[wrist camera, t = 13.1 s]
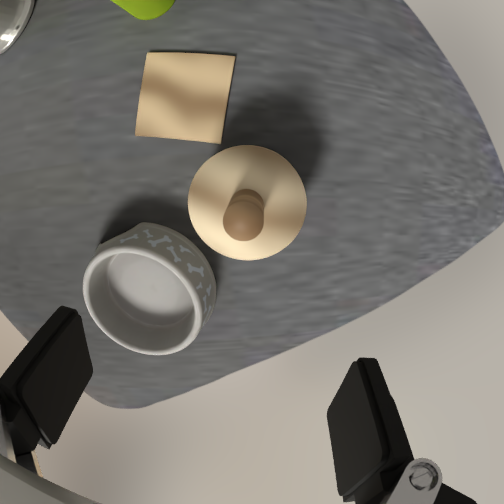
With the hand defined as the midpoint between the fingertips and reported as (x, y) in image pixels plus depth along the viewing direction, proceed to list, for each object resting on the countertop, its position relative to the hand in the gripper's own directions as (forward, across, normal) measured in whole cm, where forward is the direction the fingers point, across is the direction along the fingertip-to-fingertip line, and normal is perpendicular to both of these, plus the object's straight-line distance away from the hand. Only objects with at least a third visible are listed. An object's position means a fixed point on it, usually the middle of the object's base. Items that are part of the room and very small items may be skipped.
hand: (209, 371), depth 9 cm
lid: (+22, 0, 0) cm, 22 cm away
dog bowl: (+27, +11, +14) cm, 32 cm away
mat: (+26, +9, -10) cm, 29 cm away
